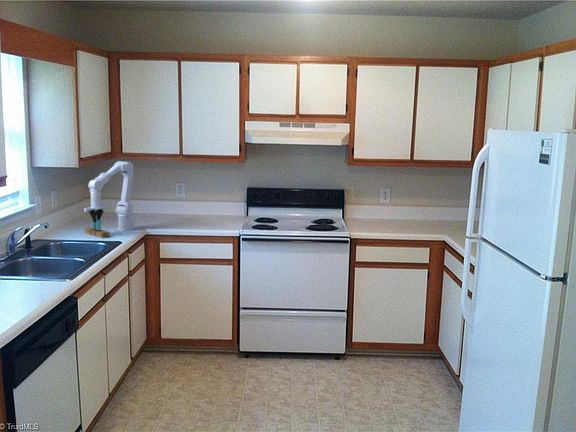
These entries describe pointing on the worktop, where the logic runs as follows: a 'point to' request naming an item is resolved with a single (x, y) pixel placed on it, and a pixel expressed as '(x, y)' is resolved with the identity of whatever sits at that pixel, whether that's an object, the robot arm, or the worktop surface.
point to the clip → (96, 224)
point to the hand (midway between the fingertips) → (96, 222)
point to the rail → (97, 232)
